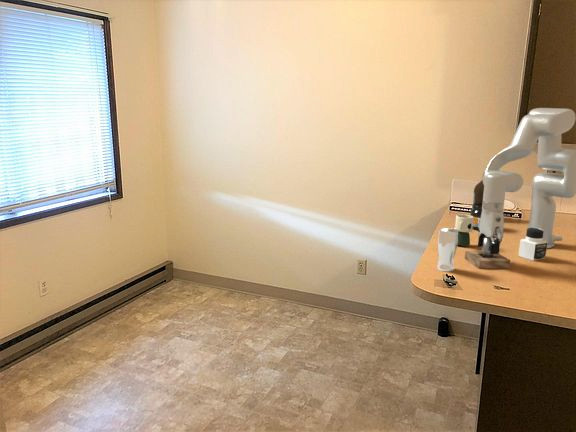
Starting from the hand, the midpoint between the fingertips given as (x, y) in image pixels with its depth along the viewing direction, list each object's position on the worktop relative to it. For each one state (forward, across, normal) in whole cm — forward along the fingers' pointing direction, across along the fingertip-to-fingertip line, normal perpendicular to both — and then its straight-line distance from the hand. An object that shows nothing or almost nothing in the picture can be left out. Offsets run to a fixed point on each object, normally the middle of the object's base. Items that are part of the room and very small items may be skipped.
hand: (487, 249), depth 190 cm
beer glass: (+6, -6, +19) cm, 21 cm away
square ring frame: (+5, 0, 0) cm, 5 cm away
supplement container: (+6, +52, -23) cm, 57 cm away
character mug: (+6, +24, -1) cm, 25 cm away
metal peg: (+5, 0, 0) cm, 5 cm away
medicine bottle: (+6, +6, -22) cm, 23 cm away
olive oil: (+6, +71, -33) cm, 78 cm away
